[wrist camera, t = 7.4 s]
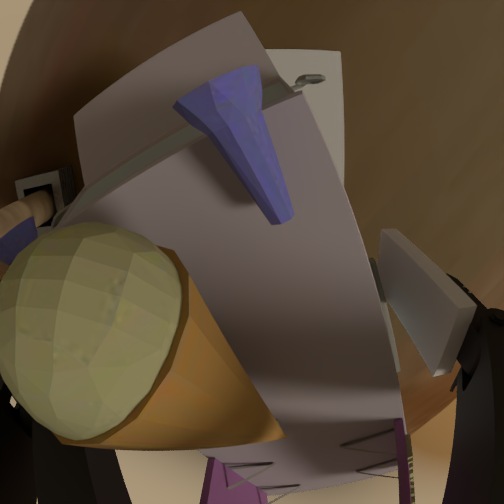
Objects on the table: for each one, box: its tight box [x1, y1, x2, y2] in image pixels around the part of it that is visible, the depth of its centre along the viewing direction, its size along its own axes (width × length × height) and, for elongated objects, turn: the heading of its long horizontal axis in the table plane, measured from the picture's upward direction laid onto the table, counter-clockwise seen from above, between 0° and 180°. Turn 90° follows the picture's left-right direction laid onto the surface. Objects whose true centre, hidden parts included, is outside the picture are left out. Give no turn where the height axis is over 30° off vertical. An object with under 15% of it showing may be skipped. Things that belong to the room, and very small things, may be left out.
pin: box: [0, 185, 57, 238], centre depth 22 cm, size 3×3×12 cm
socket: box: [15, 166, 77, 237], centre depth 26 cm, size 6×6×2 cm
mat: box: [265, 49, 344, 186], centre depth 27 cm, size 26×14×1 cm, turn 3°
